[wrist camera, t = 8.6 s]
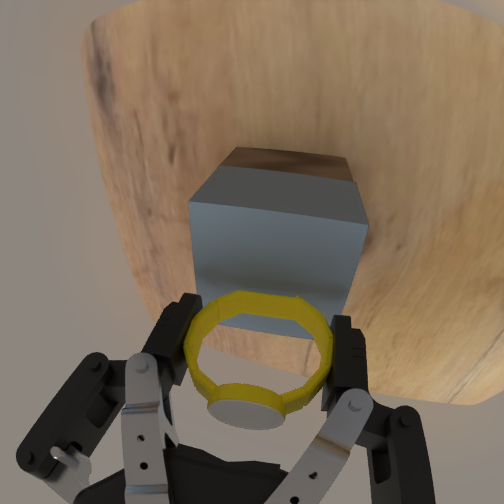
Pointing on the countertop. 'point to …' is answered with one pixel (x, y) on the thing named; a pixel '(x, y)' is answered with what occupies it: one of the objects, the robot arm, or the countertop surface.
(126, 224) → the countertop surface
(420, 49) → the countertop surface
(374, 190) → the countertop surface
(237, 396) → the watch
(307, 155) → the walnut block
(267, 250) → the grey block
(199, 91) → the countertop surface
